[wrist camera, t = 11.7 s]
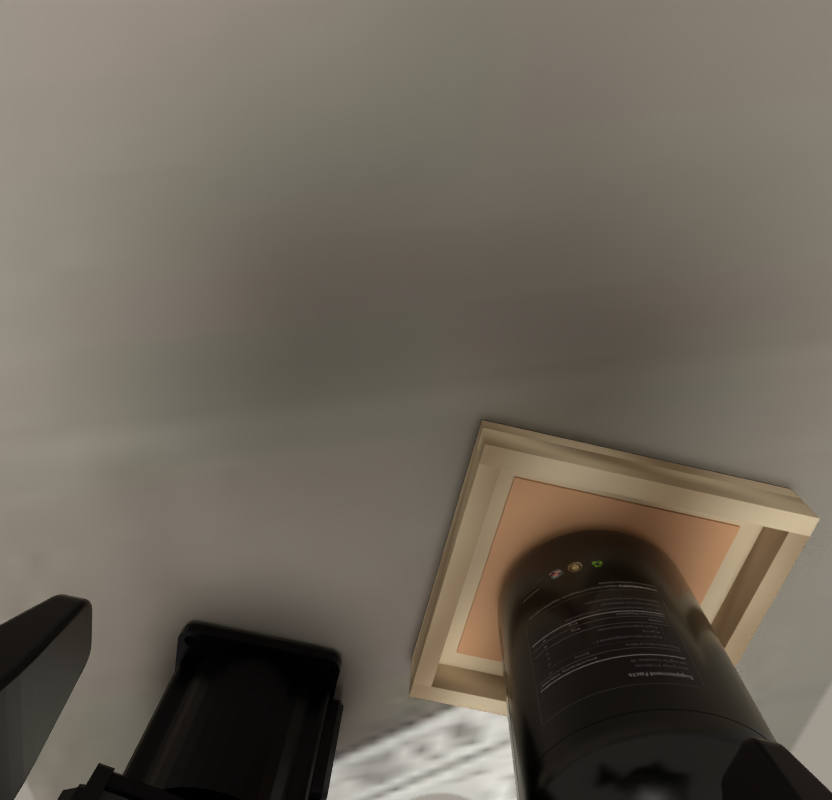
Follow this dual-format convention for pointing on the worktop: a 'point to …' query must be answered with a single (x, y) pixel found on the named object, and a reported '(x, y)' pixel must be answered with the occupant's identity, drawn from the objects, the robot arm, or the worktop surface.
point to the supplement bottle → (616, 676)
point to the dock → (595, 510)
